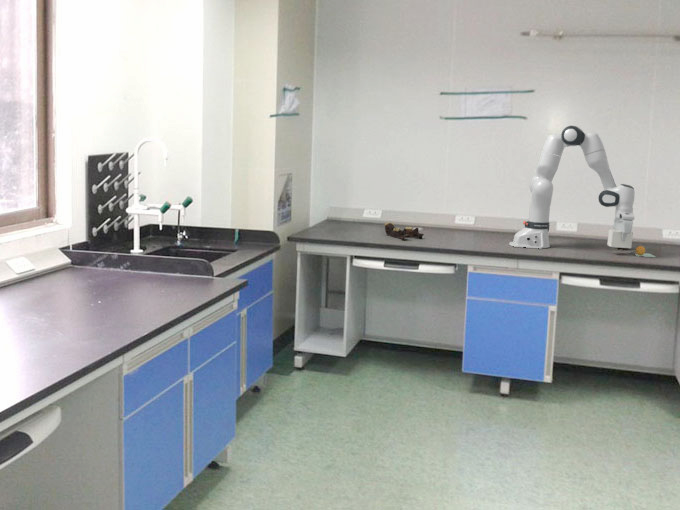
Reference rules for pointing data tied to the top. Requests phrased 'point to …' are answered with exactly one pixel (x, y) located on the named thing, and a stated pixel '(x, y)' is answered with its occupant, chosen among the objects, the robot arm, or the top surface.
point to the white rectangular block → (619, 239)
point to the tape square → (646, 255)
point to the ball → (640, 250)
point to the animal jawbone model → (401, 232)
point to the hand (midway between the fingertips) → (620, 239)
